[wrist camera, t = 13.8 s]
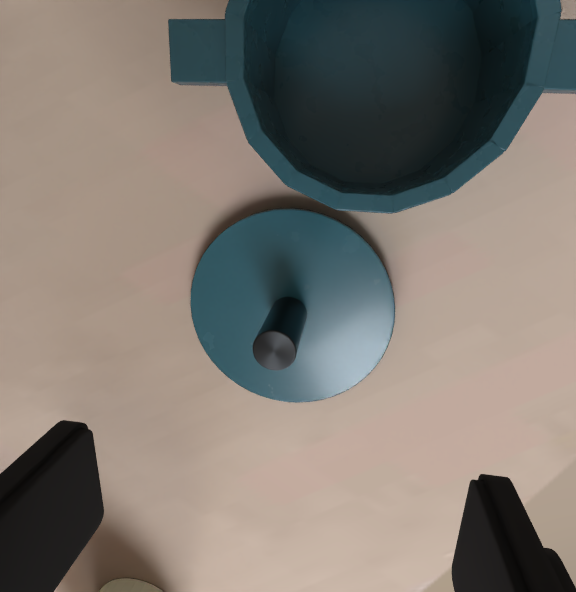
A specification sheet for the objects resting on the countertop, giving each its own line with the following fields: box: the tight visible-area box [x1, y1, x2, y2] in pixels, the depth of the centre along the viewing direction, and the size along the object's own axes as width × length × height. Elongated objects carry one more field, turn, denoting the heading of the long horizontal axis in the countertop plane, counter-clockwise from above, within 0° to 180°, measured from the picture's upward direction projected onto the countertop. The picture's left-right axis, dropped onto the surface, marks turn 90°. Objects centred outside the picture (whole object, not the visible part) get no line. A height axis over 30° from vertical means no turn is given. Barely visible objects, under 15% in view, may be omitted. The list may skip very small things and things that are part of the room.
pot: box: [168, 0, 576, 214], centre depth 20 cm, size 13×18×8 cm
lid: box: [191, 208, 395, 402], centre depth 25 cm, size 14×14×7 cm
